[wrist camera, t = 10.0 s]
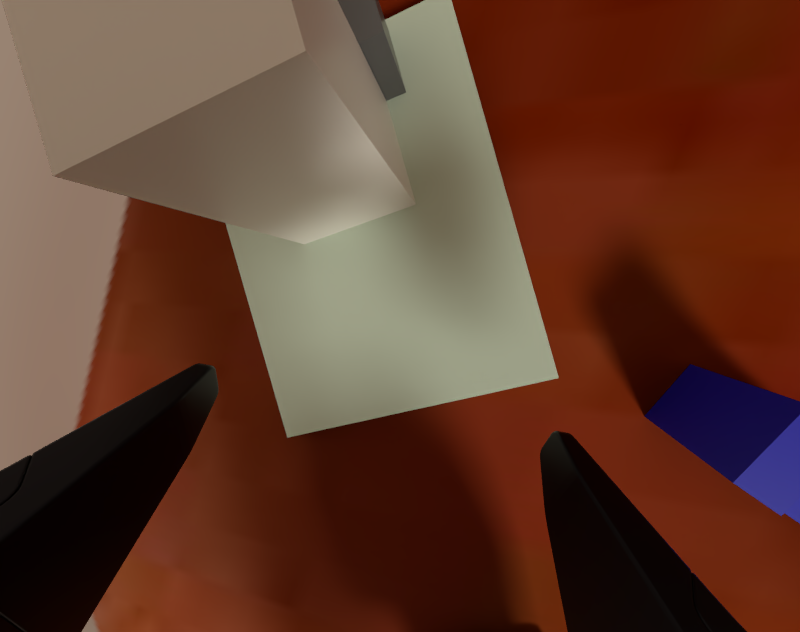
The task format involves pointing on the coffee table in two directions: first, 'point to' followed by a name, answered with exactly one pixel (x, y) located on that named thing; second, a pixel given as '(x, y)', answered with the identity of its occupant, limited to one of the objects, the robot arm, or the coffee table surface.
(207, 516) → the coffee table surface
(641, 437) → the coffee table surface
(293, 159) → the plug housing
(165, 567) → the coffee table surface
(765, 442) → the cable clip
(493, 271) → the board
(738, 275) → the coffee table surface
